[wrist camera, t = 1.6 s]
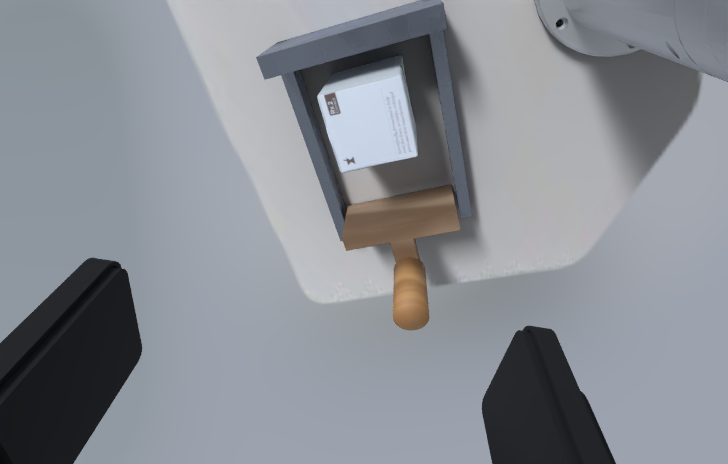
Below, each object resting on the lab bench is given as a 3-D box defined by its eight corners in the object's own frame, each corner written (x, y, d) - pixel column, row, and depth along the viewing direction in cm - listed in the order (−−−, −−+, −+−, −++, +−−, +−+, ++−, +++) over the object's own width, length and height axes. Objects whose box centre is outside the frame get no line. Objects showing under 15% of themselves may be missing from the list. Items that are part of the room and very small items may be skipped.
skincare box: (417, 124, 37) (420, 158, 30) (350, 140, 38) (340, 176, 32) (401, 52, 33) (402, 73, 27) (329, 72, 35) (314, 96, 28)
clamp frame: (469, 205, 40) (479, 240, 35) (342, 229, 43) (335, 265, 38) (436, -5, 31) (443, 3, 26) (277, 42, 34) (256, 57, 29)
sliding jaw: (460, 238, 42) (478, 321, 33) (364, 255, 44) (354, 338, 35) (450, 184, 39) (467, 258, 29) (347, 205, 41) (332, 281, 31)
